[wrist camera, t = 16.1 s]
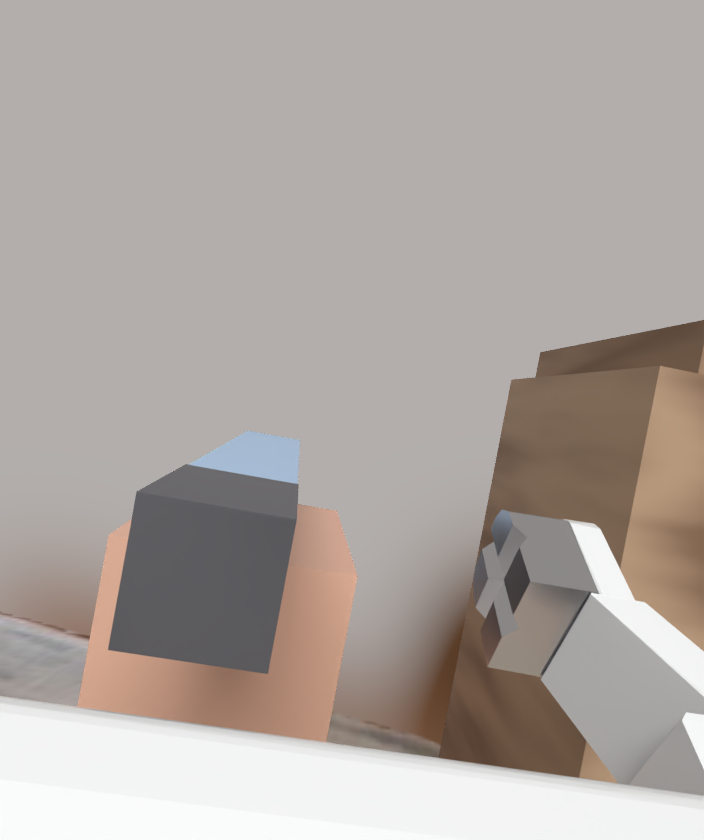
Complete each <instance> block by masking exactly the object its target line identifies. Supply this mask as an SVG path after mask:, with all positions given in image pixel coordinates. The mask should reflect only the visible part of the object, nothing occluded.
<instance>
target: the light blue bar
mask: <svg viewBox="0 0 704 840" xmlns="http://www.w3.org/2000/svg"><path fill="white" fill-rule="evenodd" d="M299 447H300V440H296V439H290V438H284V437H279V436H274V435H268V434H262V433H257V432H252V431H247V432H245V433H243V434H242V435H240V436H238V437H236V438H235V439H233V440H231V441H229V442H227V443H226V444H224V445H222V446H220V447H219V448H217V449H215V450H213V451H212V452H210V453H208V454H206V455H205V456H203V457H201V458H200V459H198V460H196V461H194V462H193V463H191V464H189V465H184V466H182V467H180V468H179V469H177V470H175V471H173V472H171V473H169V474H168V475H166V476H164V477H162V478H161V479H159V480H157V481H155V482H153V483H151V484H150V485H148V486H146V487H145V488H142V489H141V490H139V491H137V493H136V499H135V504H134V510H133V515H132V520H131V526H130V531H129V537H128V542H127V548H126V553H125V559H124V564H123V570H122V575H121V581H120V586H119V592H118V597H117V602H116V608H115V613H114V619H113V624H112V630H111V635H110V641H109V646H108V650H111V651H117V652H124V653H130V654H137V655H144V656H150V657H157V658H164V659H170V660H177V661H184V662H190V663H197V664H204V665H210V666H217V667H224V668H230V669H237V670H244V671H250V672H257V673H264V674H268V671H269V665H270V660H271V655H272V649H273V644H274V639H275V633H276V628H277V623H278V617H279V612H280V607H281V601H282V596H283V591H284V585H285V580H286V575H287V569H288V564H289V559H290V553H291V548H292V543H293V537H294V532H295V527H296V521H297V505H298V484H297V483H298V466H299Z"/></svg>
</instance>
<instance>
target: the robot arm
mask: <svg viewBox="0 0 704 840" xmlns="http://www.w3.org/2000/svg"><path fill="white" fill-rule="evenodd" d="M491 531H492V535H493V539H494V542H492V543H491V544H489V545H488V546H486V547H485V548H483V549H482V550H481V553H480V555H479V558H478V561H477V563H476V567H475V573H474V579H473V596H474V601H475V607H476V608H477V610H478V611H479V612H480V613H481V614H482V615H483V616H484V617H485V618H486V619H485V621H484V623H483V625H482V627H481V630H480V633H481V638H482V643H483V648H484V653H485V658H486V663H487V667H489V668H495V669H500V670H506V671H511V672H516V673H522V674H527V675H533V676H538V677H542V678H541V681H542V682H543V683H544V685H545V686H546V687H547V689H548V690H549V691H550V693H551V694H552V695H553V697H554V698H555V699H556V701H557V702H558V703H559V705H560V706H561V707H562V709H563V710H564V711H565V713H566V714H567V715H568V717H569V718H570V719H571V721H572V722H573V723H574V725H575V726H576V727H577V729H578V730H579V731H580V733H581V734H582V735H583V737H584V738H585V739H586V741H587V742H588V743H589V745H590V746H591V747H592V749H593V750H594V751H595V753H596V754H597V755H598V757H599V758H600V759H601V761H602V762H603V763H604V765H605V766H606V767H607V769H608V770H609V771H610V773H611V774H612V775H613V777H614V778H615V779H616V781H617V782H618V783H612V782H605V781H598V780H591V779H584V778H577V777H570V776H563V775H556V774H549V773H541V772H534V771H527V770H520V769H513V768H506V767H499V766H492V765H485V764H478V763H471V762H464V761H457V760H450V759H443V758H436V757H429V756H422V755H414V754H407V753H400V752H393V751H386V750H379V749H372V748H365V747H358V746H351V745H344V744H337V743H330V742H323V741H316V740H309V739H302V738H295V737H287V736H280V735H273V734H266V733H259V732H252V731H245V730H238V729H231V728H224V727H217V726H210V725H203V724H196V723H189V722H181V721H174V720H167V719H160V718H153V717H146V716H139V715H132V714H125V713H118V712H111V711H104V710H97V709H90V708H83V707H76V706H68V705H61V704H54V703H47V702H40V701H33V700H26V699H19V698H12V697H5V696H0V840H704V651H703V650H701V649H700V648H699V647H698V646H697V645H695V644H694V643H693V642H692V641H691V640H689V639H688V638H687V637H686V636H685V635H683V634H682V633H681V632H680V631H679V630H677V629H676V628H675V627H674V626H673V625H671V624H670V623H669V622H668V621H667V620H665V619H664V618H663V617H662V616H661V615H659V614H658V613H657V612H656V611H655V610H654V609H652V608H651V607H650V606H649V605H648V604H646V603H645V602H640V601H635V599H634V597H633V595H632V593H631V591H630V589H629V587H628V585H627V583H626V580H625V578H624V576H623V574H622V572H621V570H620V568H619V566H618V564H617V562H616V560H615V558H614V556H613V554H612V552H611V550H610V548H609V546H608V543H607V541H606V539H605V537H604V535H603V533H602V531H601V529H600V528H599V527H598V526H596V525H595V524H593V523H587V522H580V521H574V520H567V519H563V520H560V519H555V518H549V517H543V516H538V515H532V514H526V513H520V512H515V511H509V510H503V509H502V510H501V511H500V512H499V514H498V515H497V516H496V518H495V520H494V522H493V525H492V527H491Z"/></svg>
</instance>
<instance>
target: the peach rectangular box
mask: <svg viewBox="0 0 704 840" xmlns="http://www.w3.org/2000/svg"><path fill="white" fill-rule="evenodd" d="M131 520H132V519H131ZM131 520H129V521H128V522H127V523H125V524H124V525H122V526H121V527H120V528H118V529H117V530H115V531H114V532H113V533H111V534H109V537H108V542H107V548H106V553H105V559H104V564H103V570H102V575H101V580H100V586H99V591H98V597H97V603H96V608H95V613H94V619H93V624H92V630H91V635H90V641H89V646H88V652H87V657H86V663H85V668H84V674H83V679H82V685H81V690H80V696H79V701H78V707H83V708H90V709H97V710H104V711H111V712H118V713H125V714H132V715H139V716H146V717H153V718H160V719H167V720H174V721H181V722H189V723H196V724H203V725H210V726H217V727H224V728H231V729H238V730H245V731H252V732H259V733H266V734H273V735H280V736H287V737H295V738H302V739H309V740H316V741H323V742H326V740H327V735H328V730H329V725H330V719H331V714H332V709H333V703H334V698H335V693H336V688H337V682H338V676H339V672H340V666H341V661H342V656H343V651H344V645H345V640H346V635H347V629H348V624H349V619H350V613H351V608H352V603H353V598H354V592H355V587H356V581H357V577H358V576H357V573H356V570H355V567H354V563H353V560H352V557H351V554H350V551H349V548H348V544H347V541H346V538H345V535H344V532H343V529H342V526H341V523H340V519H339V516H338V513H337V511H335V510H329V509H323V508H318V507H312V506H306V505H300V504H298V505H297V521H296V527H295V532H294V537H293V543H292V548H291V553H290V559H289V564H288V569H287V575H286V580H285V585H284V591H283V596H282V601H281V607H280V612H279V617H278V623H277V628H276V633H275V639H274V644H273V649H272V655H271V660H270V665H269V671H268V674H264V673H257V672H250V671H244V670H237V669H230V668H224V667H217V666H210V665H204V664H197V663H190V662H184V661H177V660H170V659H164V658H157V657H150V656H144V655H137V654H130V653H124V652H117V651H111V650H108V646H109V641H110V635H111V630H112V624H113V619H114V613H115V608H116V602H117V597H118V592H119V586H120V581H121V575H122V570H123V564H124V559H125V553H126V548H127V542H128V537H129V531H130V526H131Z"/></svg>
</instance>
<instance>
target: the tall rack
mask: <svg viewBox="0 0 704 840" xmlns="http://www.w3.org/2000/svg"><path fill="white" fill-rule="evenodd" d="M502 509H503V510H509V511H515V512H520V513H526V514H532V515H538V516H543V517H549V518H555V519H560V520H563V519H567V520H574V521H580V522H587V523H593V524H595V525H596V526H598V527H599V528H600V529H601V531H602V533H603V535H604V537H605V539H606V541H607V543H608V546H609V548H610V550H611V552H612V554H613V556H614V558H615V560H616V562H617V564H618V566H619V568H620V570H621V572H622V574H623V576H624V578H625V580H626V583H627V585H628V587H629V589H630V591H631V593H632V595H633V597H634V599H635V601H640V602H645V603H646V604H648V605H649V606H650V607H651V608H652V609H654V610H655V611H656V612H657V613H658V614H659V615H661V616H662V617H663V618H664V619H665V620H667V621H668V622H669V623H670V624H671V625H673V626H674V627H675V628H676V629H677V630H679V631H680V632H681V633H682V634H683V635H685V636H686V637H687V638H688V639H689V640H691V641H692V642H693V643H694V644H695V645H697V646H698V647H699V648H700V649H701V650H703V651H704V320H702V321H697V322H692V323H687V324H682V325H677V326H672V327H667V328H662V329H657V330H652V331H646V332H642V333H637V334H631V335H626V336H621V337H616V338H611V339H606V340H601V341H596V342H591V343H586V344H581V345H576V346H571V347H565V348H560V349H556V350H550V351H545V352H541V353H540V357H539V363H538V368H537V373H536V378H526V379H515V380H512V381H511V386H510V390H509V396H508V401H507V406H506V411H505V417H504V422H503V427H502V432H501V438H500V443H499V448H498V453H497V458H496V463H495V469H494V474H493V479H492V484H491V489H490V494H489V500H488V505H487V510H486V515H485V521H484V526H483V531H482V536H481V541H480V547H479V552H478V557H477V561H478V558H479V555H480V553H481V550H482V549H483V548H485V547H486V546H488V545H489V544H491V543H492V542H494V539H493V535H492V531H491V527H492V525H493V522H494V520H495V518H496V516H497V515H498V514H499V512H500V511H501V510H502ZM476 563H477V562H476ZM473 579H474V578H473ZM485 619H486V618H485V617H484V616H483V615H482V614H481V613H480V612H479V611H478V610H477V608H476V607H475V601H474V596H473V583H472V588H471V593H470V598H469V603H468V609H467V614H466V620H465V624H464V629H463V635H462V641H461V645H460V650H459V656H458V661H457V666H456V671H455V676H454V681H453V687H452V692H451V697H450V702H449V707H448V712H447V718H446V723H445V728H444V733H443V739H442V744H441V749H440V754H439V758H443V759H450V760H457V761H464V762H471V763H478V764H485V765H492V766H499V767H506V768H513V769H520V770H527V771H534V772H541V773H549V774H556V775H563V776H570V777H577V778H584V779H591V780H598V781H605V782H612V783H618V782H617V781H616V779H615V778H614V777H613V775H612V774H611V773H610V771H609V770H608V769H607V767H606V766H605V765H604V763H603V762H602V761H601V759H600V758H599V757H598V755H597V754H596V753H595V751H594V750H593V749H592V747H591V746H590V745H589V743H588V742H587V741H586V739H585V738H584V737H583V735H582V734H581V733H580V731H579V730H578V729H577V727H576V726H575V725H574V723H573V722H572V721H571V719H570V718H569V717H568V715H567V714H566V713H565V711H564V710H563V709H562V707H561V706H560V705H559V703H558V702H557V701H556V699H555V698H554V697H553V695H552V694H551V693H550V691H549V690H548V689H547V687H546V686H545V685H544V683H543V682H542V681H541V678H542V677H538V676H533V675H527V674H522V673H516V672H511V671H506V670H500V669H495V668H489V667H487V663H486V658H485V653H484V648H483V643H482V638H481V633H480V630H481V627H482V625H483V623H484V621H485Z"/></svg>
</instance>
